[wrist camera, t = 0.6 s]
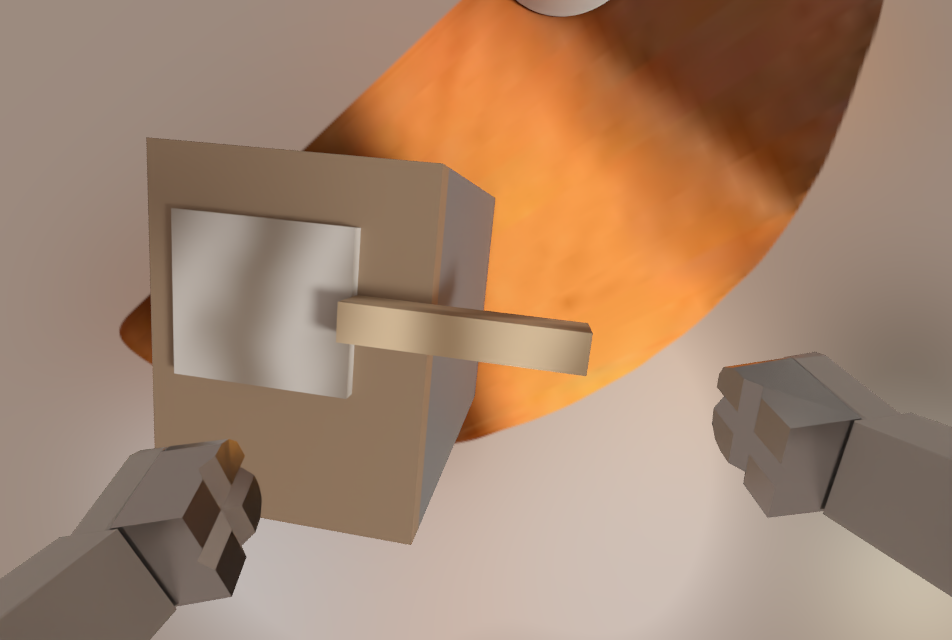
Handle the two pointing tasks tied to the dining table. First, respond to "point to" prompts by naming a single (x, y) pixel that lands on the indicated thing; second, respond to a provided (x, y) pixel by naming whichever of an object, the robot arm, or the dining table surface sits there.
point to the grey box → (375, 369)
